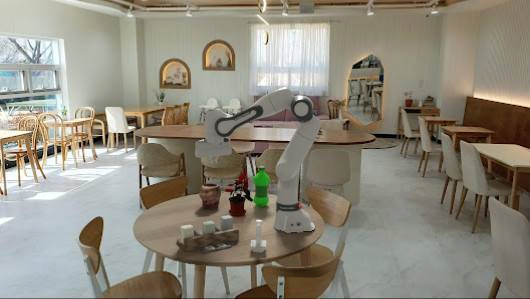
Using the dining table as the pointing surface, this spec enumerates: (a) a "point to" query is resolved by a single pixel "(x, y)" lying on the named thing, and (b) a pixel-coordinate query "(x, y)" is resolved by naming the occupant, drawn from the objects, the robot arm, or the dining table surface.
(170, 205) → the dining table surface
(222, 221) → the pale blue upright block
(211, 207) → the decorative planter
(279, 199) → the robot arm
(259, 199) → the plastic bottle
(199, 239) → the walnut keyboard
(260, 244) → the white upright post stand
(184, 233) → the cream rectangular block
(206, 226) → the sage key
